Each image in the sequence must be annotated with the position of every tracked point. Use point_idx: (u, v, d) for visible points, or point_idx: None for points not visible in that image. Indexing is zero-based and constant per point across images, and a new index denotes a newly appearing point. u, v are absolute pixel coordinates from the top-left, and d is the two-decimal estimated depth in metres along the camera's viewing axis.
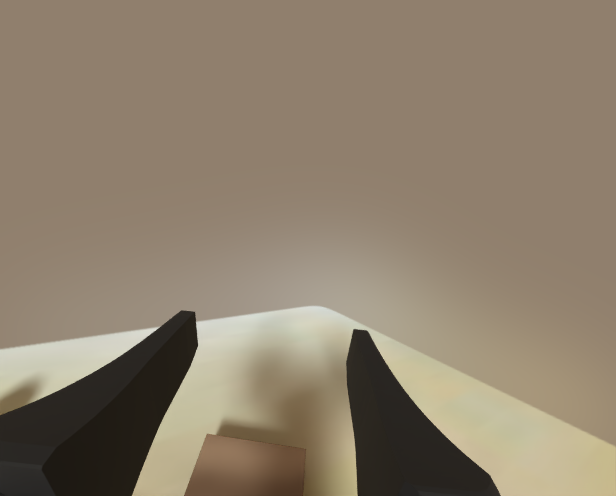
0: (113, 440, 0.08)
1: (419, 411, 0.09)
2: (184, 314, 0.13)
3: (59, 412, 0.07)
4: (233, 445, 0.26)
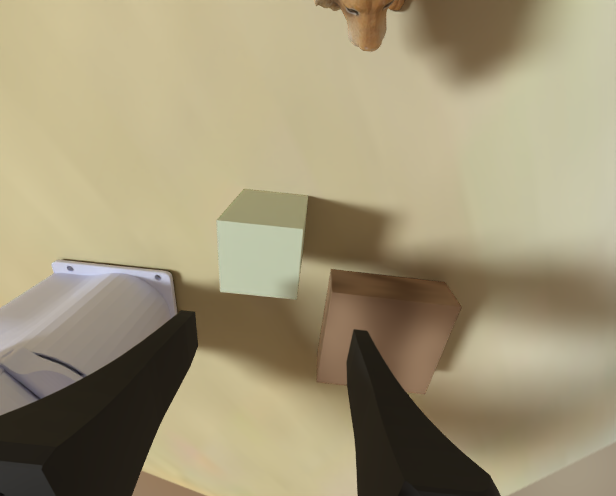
0: (113, 440, 0.08)
1: (419, 411, 0.09)
2: (184, 314, 0.13)
3: (59, 412, 0.07)
4: (440, 334, 0.22)
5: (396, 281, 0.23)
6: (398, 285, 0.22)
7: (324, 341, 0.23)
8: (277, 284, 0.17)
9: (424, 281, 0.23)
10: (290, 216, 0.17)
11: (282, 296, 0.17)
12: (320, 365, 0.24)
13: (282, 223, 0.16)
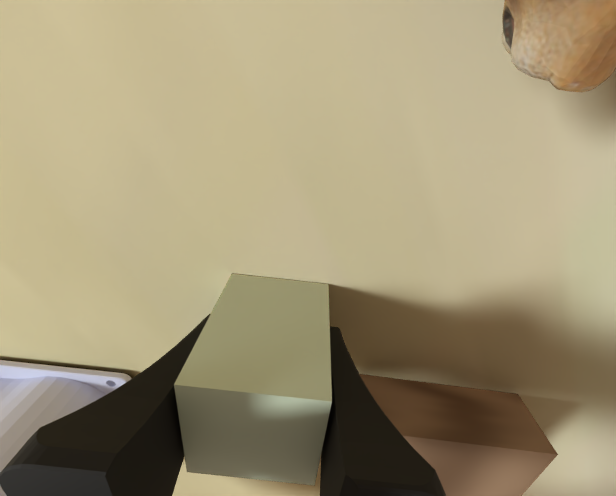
0: (158, 445, 0.08)
1: (377, 406, 0.09)
2: None
3: (110, 418, 0.07)
4: (519, 482, 0.15)
5: (453, 397, 0.16)
6: (457, 406, 0.15)
7: None
8: (283, 467, 0.10)
9: (490, 394, 0.16)
10: (306, 353, 0.10)
11: (291, 480, 0.10)
12: None
13: (293, 382, 0.09)
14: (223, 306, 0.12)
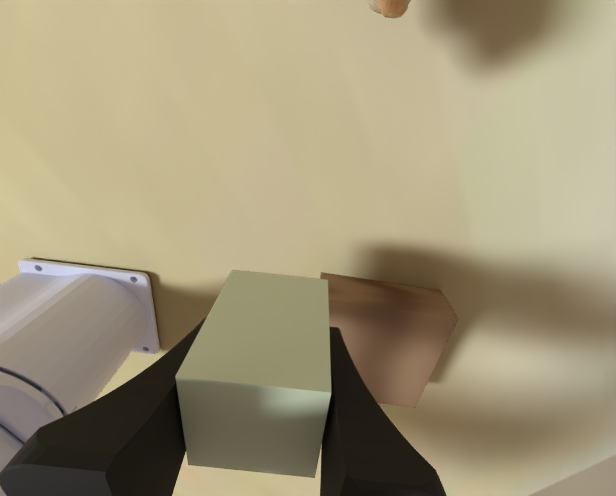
0: (158, 445, 0.08)
1: (377, 407, 0.09)
2: None
3: (110, 418, 0.07)
4: (434, 346, 0.20)
5: (390, 288, 0.21)
6: (392, 292, 0.21)
7: None
8: (283, 459, 0.10)
9: (419, 289, 0.22)
10: (306, 346, 0.10)
11: (291, 473, 0.10)
12: None
13: (293, 374, 0.09)
14: (223, 301, 0.12)
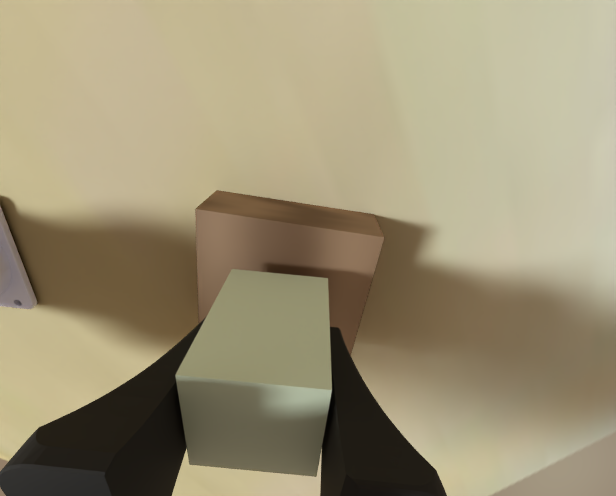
0: (158, 445, 0.08)
1: (377, 406, 0.09)
2: None
3: (110, 418, 0.07)
4: (359, 280, 0.15)
5: (304, 208, 0.16)
6: (304, 211, 0.16)
7: (199, 288, 0.16)
8: (284, 458, 0.10)
9: (345, 211, 0.17)
10: (306, 344, 0.10)
11: (292, 472, 0.10)
12: None
13: (293, 372, 0.09)
14: (223, 300, 0.12)
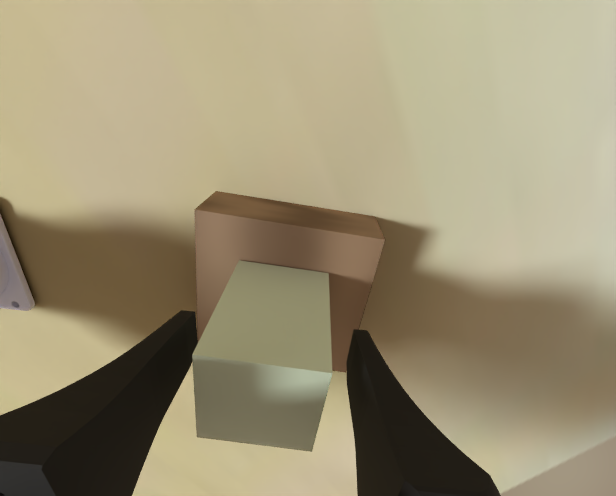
0: (113, 440, 0.08)
1: (419, 411, 0.09)
2: (184, 314, 0.13)
3: (59, 412, 0.07)
4: (359, 283, 0.15)
5: (305, 209, 0.16)
6: (304, 213, 0.16)
7: (197, 289, 0.16)
8: (284, 433, 0.11)
9: (345, 213, 0.17)
10: (309, 332, 0.11)
11: (290, 446, 0.12)
12: (198, 326, 0.17)
13: (298, 356, 0.10)
14: (232, 289, 0.13)
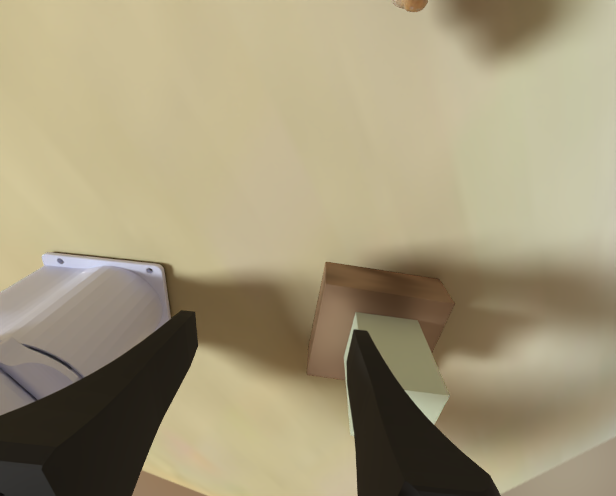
0: (113, 440, 0.08)
1: (419, 411, 0.09)
2: (184, 314, 0.13)
3: (59, 412, 0.07)
4: (433, 330, 0.22)
5: (391, 276, 0.22)
6: (392, 280, 0.22)
7: (316, 333, 0.22)
8: None
9: (418, 277, 0.23)
10: (425, 368, 0.17)
11: None
12: (311, 358, 0.23)
13: (426, 385, 0.16)
14: None
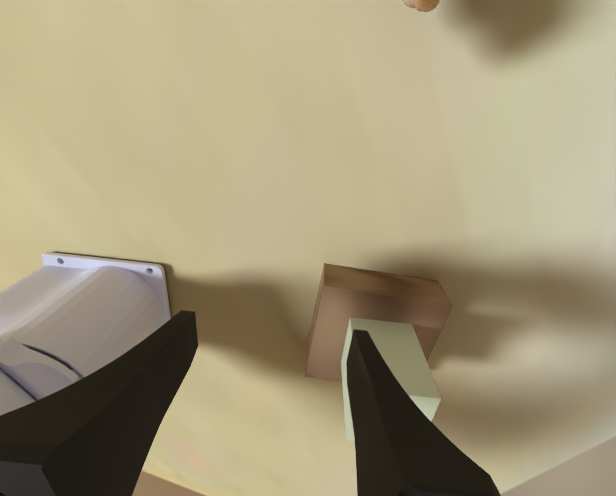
0: (113, 440, 0.08)
1: (419, 411, 0.09)
2: (184, 314, 0.13)
3: (59, 412, 0.07)
4: (430, 332, 0.22)
5: (389, 278, 0.23)
6: (390, 282, 0.22)
7: (314, 335, 0.22)
8: None
9: (416, 279, 0.23)
10: (417, 371, 0.18)
11: None
12: (309, 359, 0.24)
13: (418, 388, 0.17)
14: None
